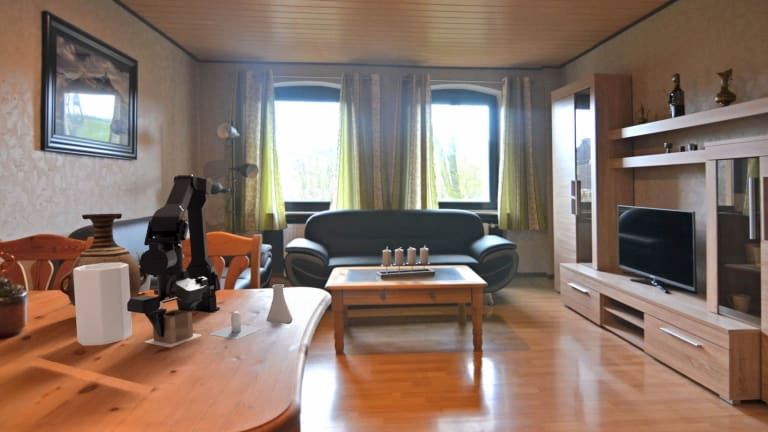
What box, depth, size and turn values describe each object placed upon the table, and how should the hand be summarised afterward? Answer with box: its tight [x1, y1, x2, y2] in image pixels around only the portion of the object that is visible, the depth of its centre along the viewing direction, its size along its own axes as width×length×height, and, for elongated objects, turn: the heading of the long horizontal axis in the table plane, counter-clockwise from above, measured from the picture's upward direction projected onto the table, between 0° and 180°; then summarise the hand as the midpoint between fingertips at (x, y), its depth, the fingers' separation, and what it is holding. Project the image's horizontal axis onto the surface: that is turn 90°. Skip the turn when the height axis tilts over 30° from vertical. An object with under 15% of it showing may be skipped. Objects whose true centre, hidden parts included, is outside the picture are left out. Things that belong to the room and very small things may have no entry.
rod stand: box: [144, 333, 203, 348], centre depth 107 cm, size 9×9×4 cm
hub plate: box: [208, 311, 264, 340], centre depth 111 cm, size 9×9×6 cm
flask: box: [265, 283, 293, 324], centre depth 123 cm, size 7×7×10 cm
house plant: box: [134, 249, 152, 292], centre depth 161 cm, size 14×14×16 cm
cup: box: [73, 263, 133, 346], centre depth 108 cm, size 11×11×18 cm
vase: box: [58, 212, 147, 307], centre depth 132 cm, size 21×18×30 cm
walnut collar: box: [152, 308, 194, 344], centre depth 107 cm, size 6×6×6 cm
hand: (173, 332), depth 107 cm, fingers closed on walnut collar, 6 cm apart
